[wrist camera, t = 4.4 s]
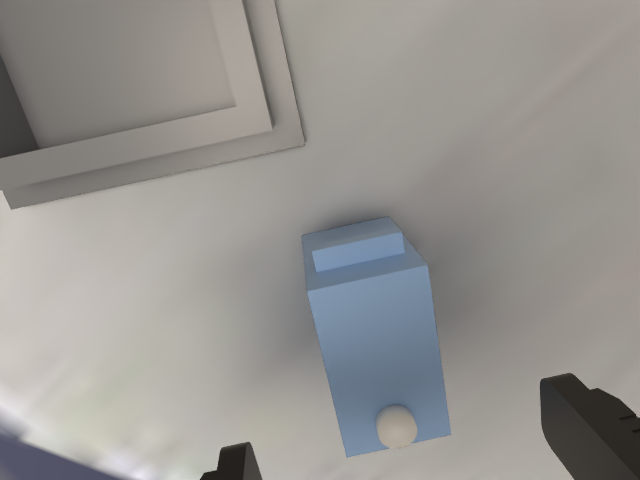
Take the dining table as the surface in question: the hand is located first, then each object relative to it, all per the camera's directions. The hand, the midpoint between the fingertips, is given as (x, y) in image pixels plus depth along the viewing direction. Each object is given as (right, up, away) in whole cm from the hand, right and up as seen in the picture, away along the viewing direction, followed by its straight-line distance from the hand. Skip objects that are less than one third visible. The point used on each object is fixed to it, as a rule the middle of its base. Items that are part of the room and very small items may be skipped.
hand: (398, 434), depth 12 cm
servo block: (0, +3, +9) cm, 10 cm away
